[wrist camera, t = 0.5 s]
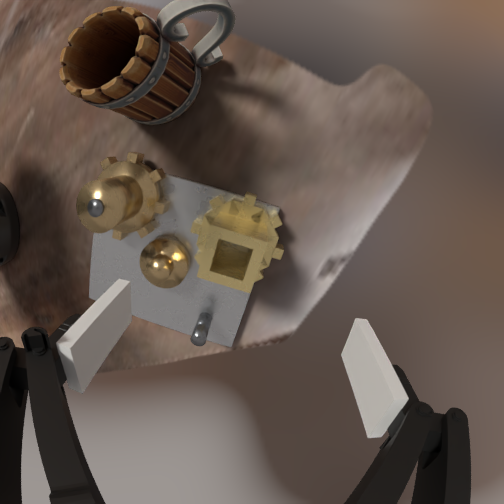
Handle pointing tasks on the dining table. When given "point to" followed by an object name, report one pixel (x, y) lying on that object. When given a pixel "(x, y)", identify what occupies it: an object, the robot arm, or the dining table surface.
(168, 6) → the mug
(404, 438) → the robot arm
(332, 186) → the dining table surface
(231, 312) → the carrier
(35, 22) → the dining table surface
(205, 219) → the gear
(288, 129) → the dining table surface
